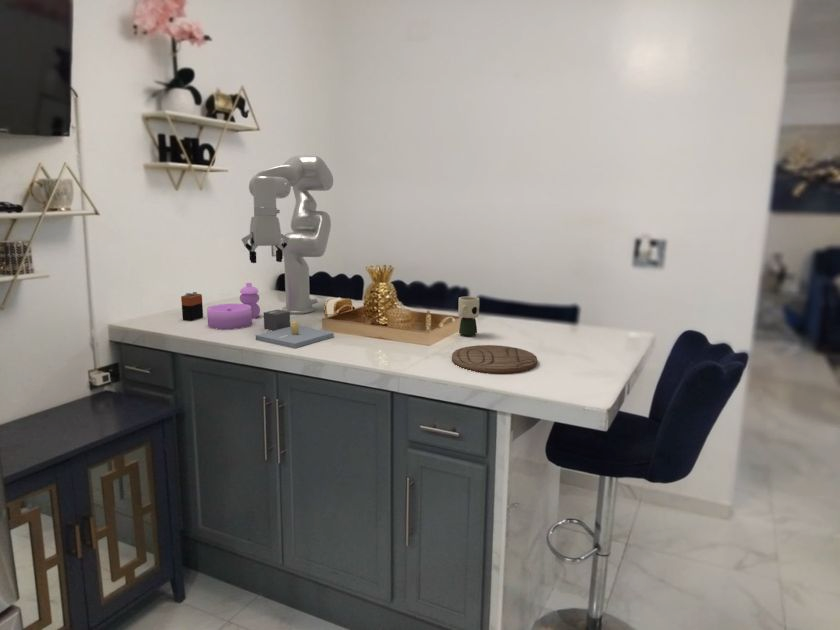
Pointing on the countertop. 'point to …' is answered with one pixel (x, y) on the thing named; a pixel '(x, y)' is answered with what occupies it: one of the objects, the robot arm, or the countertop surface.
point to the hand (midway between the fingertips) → (266, 262)
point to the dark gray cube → (276, 320)
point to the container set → (235, 311)
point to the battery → (192, 306)
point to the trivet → (494, 359)
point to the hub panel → (294, 336)
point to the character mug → (468, 315)
